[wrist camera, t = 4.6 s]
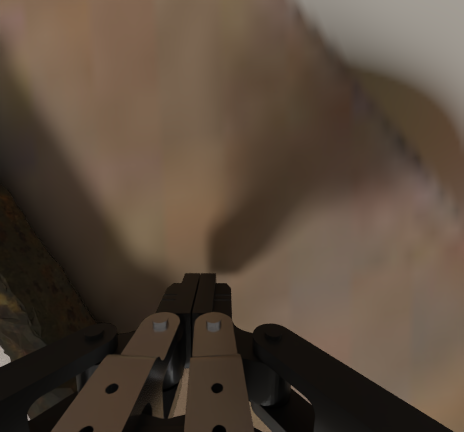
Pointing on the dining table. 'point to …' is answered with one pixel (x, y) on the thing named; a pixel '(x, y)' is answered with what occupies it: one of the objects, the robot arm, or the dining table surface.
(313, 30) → the dining table surface
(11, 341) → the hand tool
